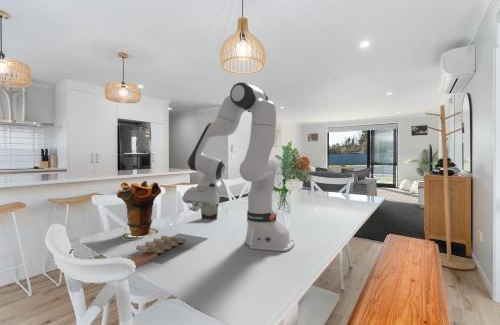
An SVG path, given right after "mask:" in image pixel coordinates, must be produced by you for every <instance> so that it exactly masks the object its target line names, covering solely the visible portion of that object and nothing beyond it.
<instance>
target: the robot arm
mask: <svg viewBox="0 0 500 325" xmlns="http://www.w3.org/2000/svg"><path fill="white" fill-rule="evenodd" d="M245 112H248V113H250V114H251V123H250V135H249V136H250V137H249V143H248V147H247V151H246V154H245V156H244V159H243V161H242V162H241V164H240V165H239V174H240V176H241V178H242V179H243V181H247V182H250V183H251V185H250V187H249V188H250V189H249V191H248V194H247V211H246V221H247V229H246V234H245V235H246V236H245V240H244V242H245V244H246V245H247V246H248V247H249V249H252V250H262V251H275V252H287V251H290V250H292V249H293V248H294V246H295V245H296V244H295V243H296V242H295V239H294V238H291V236H290V232H289V229H288V228H287V227H286V226H285V225H284V224H282V223H281V222H280V221H279V220H278V219H277V216H278V212H275V211H274V210H273V194H274V193H273V191H274V187H275V178H276V174H277V171H278V163H277V162H276V161H275V159H273V158H272V157H271V152H272V150H273V147H274V146H275V142H276V141H275V140H276V139H275V138H276V130H277V109H276V105H275V104H274V103H273V102H272V101H270V100H269V97H268V95H267V93H265V91H264V90H261V89H259V88H258V87H256V86H255V85H253V84H250V83H248V82H242V81H241V82H240V81H239V82H237V83H235V84H233V86H232V87H231V89H230V93H229V95H227V96H226V97H224V100H223V101H222V104H221V105H220V107H219V109H218V112H217V116H216V117H215V119H214V121H212V122H210V123H207V125H206V126H205V128H204V129H203V132H202V133H201V135H200V137H199V139H198V141H197V143H196V144H195V146H194V148H193V151H192V152H191V154H190V155H189V157H188V160H187V166H188V168H189V169H190V171H194V172H198V173H201V174H203V175H202V177H201V178H200V179H199V182H198V183H197V185H196V187H195V186H194V187H193V186H192V187H190V188H188V189H187V190H186V191H185V192H184V194H183V195H182V197H181V199H182V201H183V203H185V204H191V205H192V206H191V209H190V210H191V211H192V212H197V213H198V211H199V210H201V207H202V206H203V205H212V206H215V205H217V204H219V203H220V200H221V199H220V198H221V194H222V190H221V189H220V186H219V185H217V184H218V182H219V181H220V180H221V178H222V177H223V174H224V172H225V169H226V168H225V167H226V166H225V163H224V162H223V160H221V159H219V158H217V157H213V156H211V155H208V154H205V153H204V150H205V148H206V146H207V144H208V143H209V141H210V139H211V138H213V137H227V136H232V135H233V134H234V133H235V132H236V130H237V129H238V126H239V124H240V121H241V118H242V115H243V114H244V113H245Z"/></svg>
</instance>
